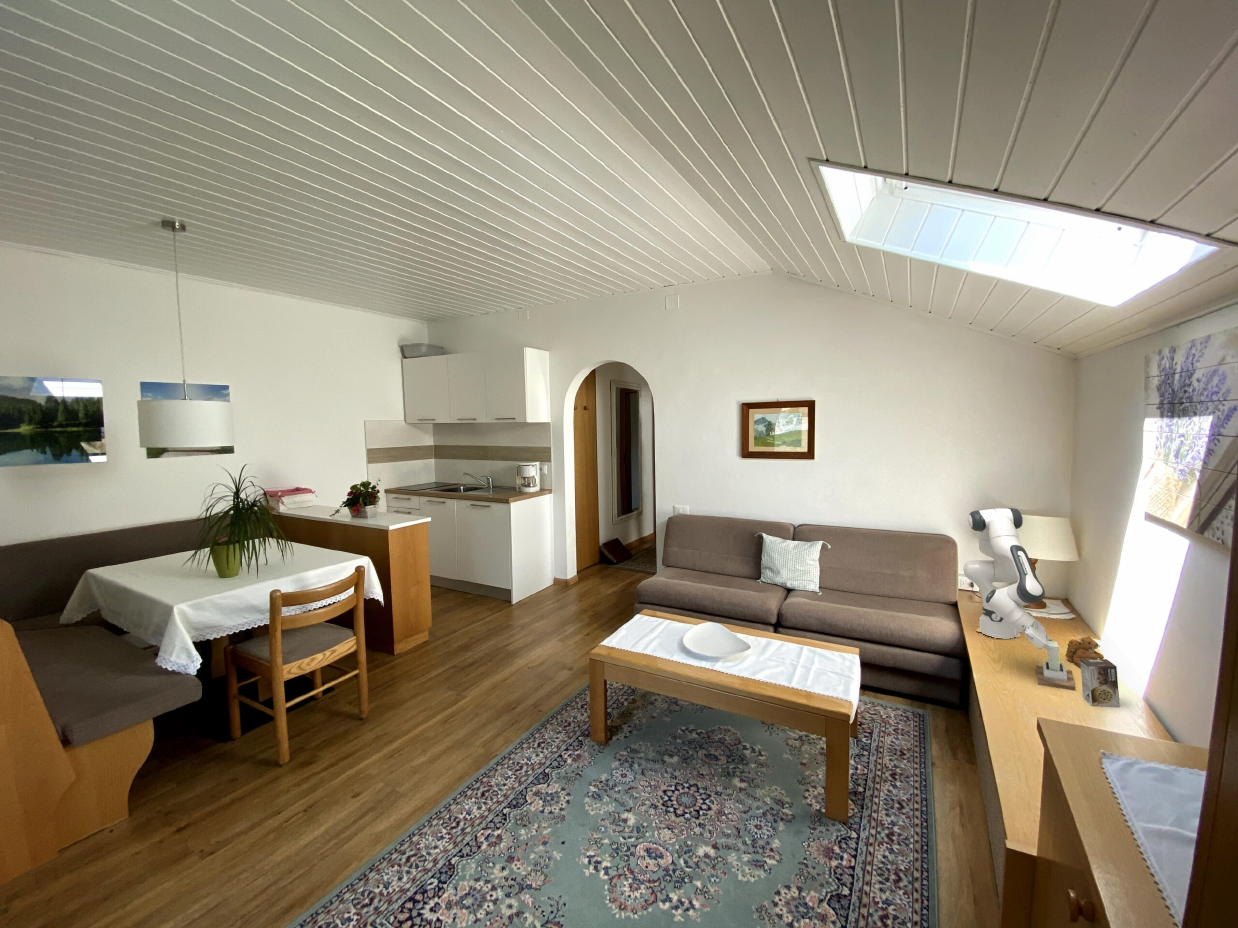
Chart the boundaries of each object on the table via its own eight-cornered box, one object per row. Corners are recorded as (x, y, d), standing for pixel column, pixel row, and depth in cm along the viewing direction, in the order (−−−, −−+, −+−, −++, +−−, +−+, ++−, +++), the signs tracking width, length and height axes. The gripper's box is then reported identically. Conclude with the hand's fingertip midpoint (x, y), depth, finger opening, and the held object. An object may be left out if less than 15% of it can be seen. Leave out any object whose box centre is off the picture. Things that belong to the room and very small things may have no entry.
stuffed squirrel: (1091, 673, 225) (1089, 643, 224) (1057, 660, 239) (1055, 632, 238) (1109, 668, 227) (1107, 639, 226) (1074, 656, 241) (1073, 628, 240)
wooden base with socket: (1036, 668, 233) (1035, 656, 233) (1072, 673, 226) (1071, 661, 225) (1037, 684, 220) (1037, 671, 220) (1075, 690, 213) (1074, 677, 213)
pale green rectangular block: (1049, 671, 227) (1046, 640, 226) (1059, 673, 225) (1057, 641, 224) (1049, 677, 222) (1047, 645, 221) (1060, 679, 220) (1058, 647, 219)
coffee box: (1109, 698, 205) (1107, 658, 204) (1120, 707, 199) (1117, 665, 198) (1081, 697, 208) (1079, 658, 207) (1091, 706, 201) (1088, 665, 201)
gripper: (1029, 626, 218) (1061, 652, 213) (1028, 610, 234) (1058, 634, 229) (1016, 635, 221) (1048, 661, 216) (1016, 618, 237) (1046, 643, 232)
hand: (1053, 647), depth 222 cm, fingers open, 8 cm apart
